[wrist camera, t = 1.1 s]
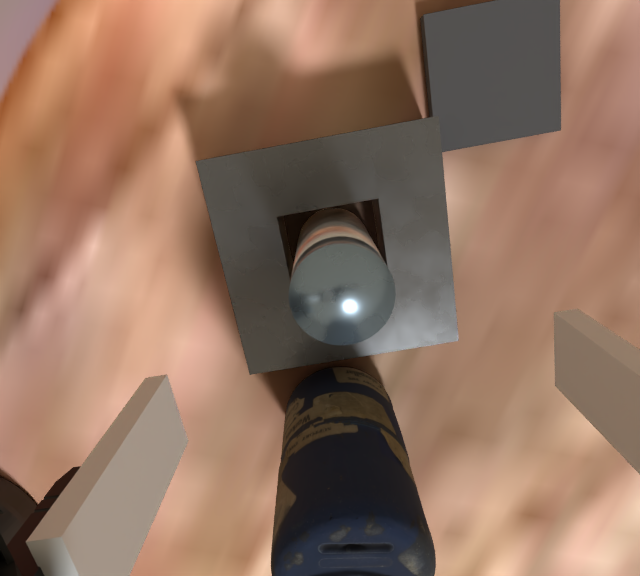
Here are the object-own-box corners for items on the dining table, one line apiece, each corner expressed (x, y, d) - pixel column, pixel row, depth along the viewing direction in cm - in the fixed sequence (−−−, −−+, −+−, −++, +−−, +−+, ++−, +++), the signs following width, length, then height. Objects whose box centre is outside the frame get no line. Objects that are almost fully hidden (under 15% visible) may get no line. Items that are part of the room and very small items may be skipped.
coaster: (432, 152, 34) (436, 153, 33) (420, 18, 31) (423, 14, 30) (553, 130, 33) (561, 130, 32) (552, -8, 30) (559, -13, 30)
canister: (300, 348, 39) (288, 513, 22) (405, 373, 40) (473, 550, 22) (275, 439, 42) (247, 647, 24) (373, 460, 42) (412, 676, 25)
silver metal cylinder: (305, 281, 37) (299, 353, 24) (292, 214, 35) (278, 254, 23) (373, 270, 37) (401, 336, 24) (363, 201, 35) (388, 235, 22)
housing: (257, 348, 39) (249, 374, 34) (210, 158, 34) (195, 161, 29) (442, 318, 38) (458, 340, 34) (422, 119, 33) (438, 115, 29)
